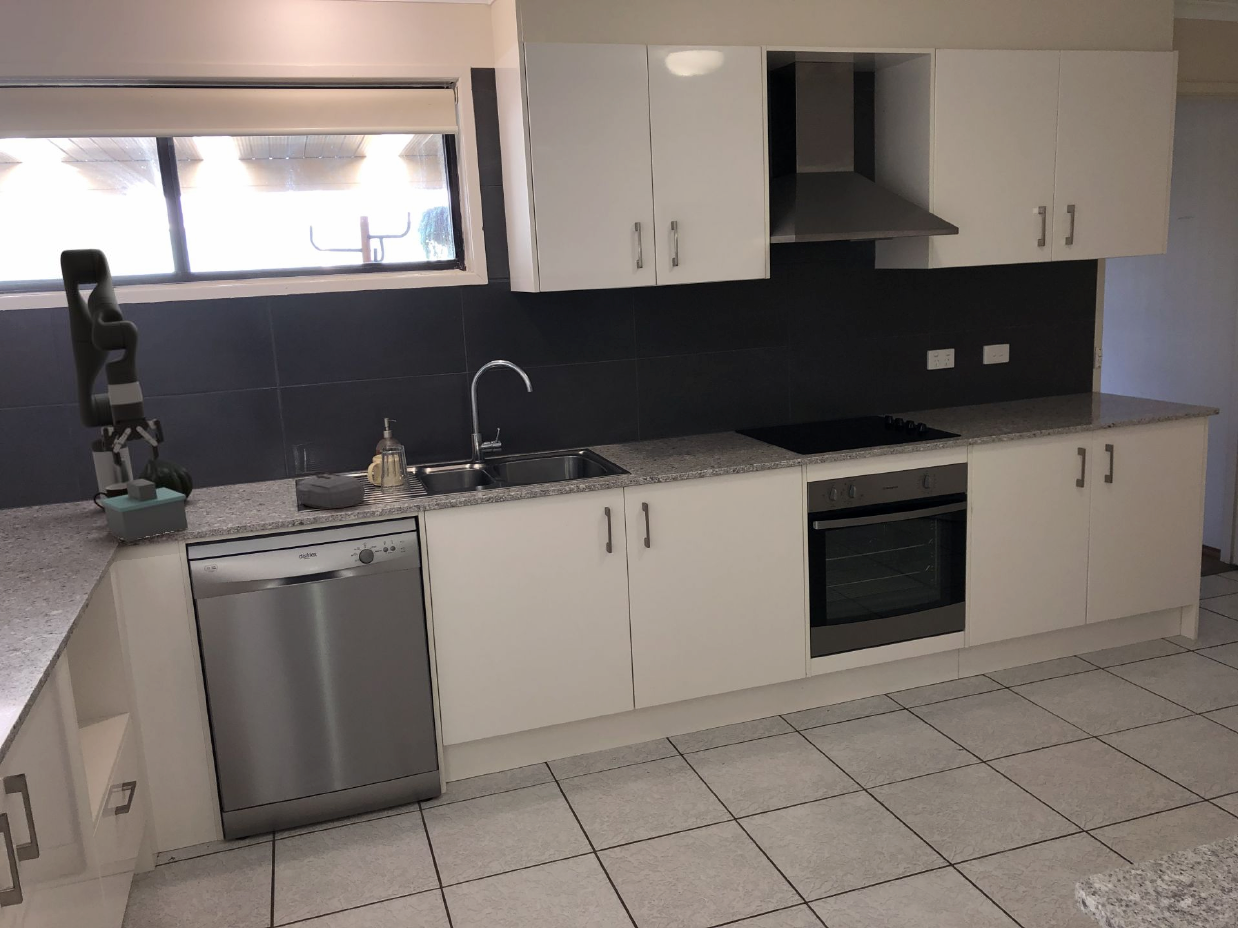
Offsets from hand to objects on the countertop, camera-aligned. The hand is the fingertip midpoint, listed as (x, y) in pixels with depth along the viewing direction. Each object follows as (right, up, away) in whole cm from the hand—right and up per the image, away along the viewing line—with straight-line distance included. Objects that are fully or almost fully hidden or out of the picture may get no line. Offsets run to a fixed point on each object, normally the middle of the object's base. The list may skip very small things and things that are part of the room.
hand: (137, 463), depth 255 cm
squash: (-7, -12, +34) cm, 37 cm away
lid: (+1, -10, +2) cm, 10 cm away
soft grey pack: (+45, -11, +21) cm, 51 cm away
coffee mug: (-11, -16, +17) cm, 26 cm away
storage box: (+1, -18, +4) cm, 18 cm away
